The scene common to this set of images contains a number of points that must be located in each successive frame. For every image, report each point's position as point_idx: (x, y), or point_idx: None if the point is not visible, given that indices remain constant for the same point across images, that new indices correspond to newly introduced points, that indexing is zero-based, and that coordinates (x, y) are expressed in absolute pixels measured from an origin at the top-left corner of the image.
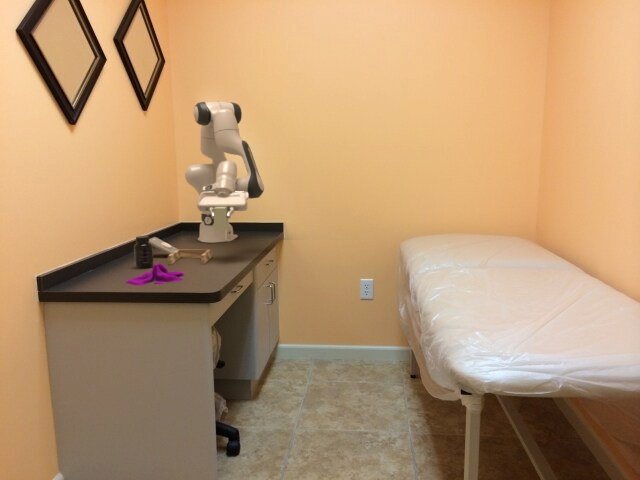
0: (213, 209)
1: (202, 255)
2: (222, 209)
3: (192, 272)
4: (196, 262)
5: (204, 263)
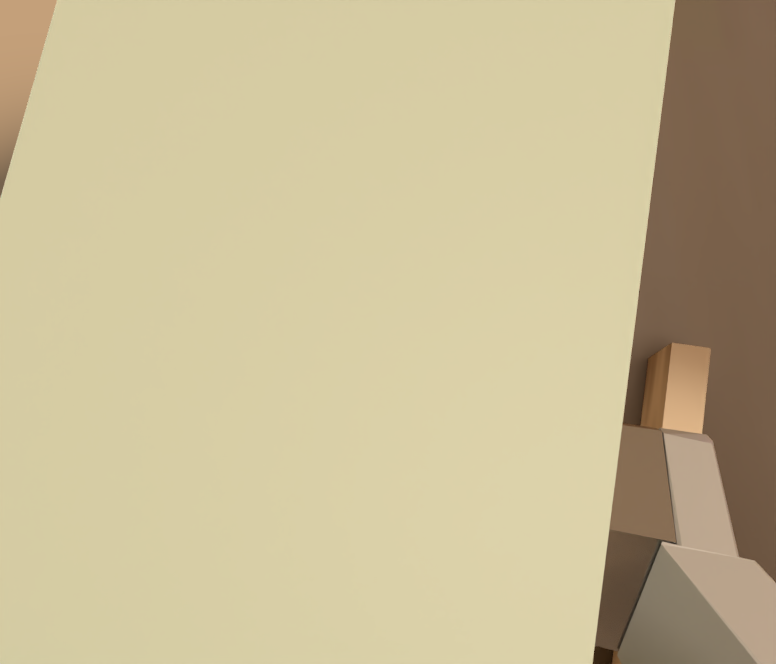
0: (653, 38)
1: (690, 363)
2: (199, 10)
3: (718, 30)
4: (752, 484)
5: (647, 374)
